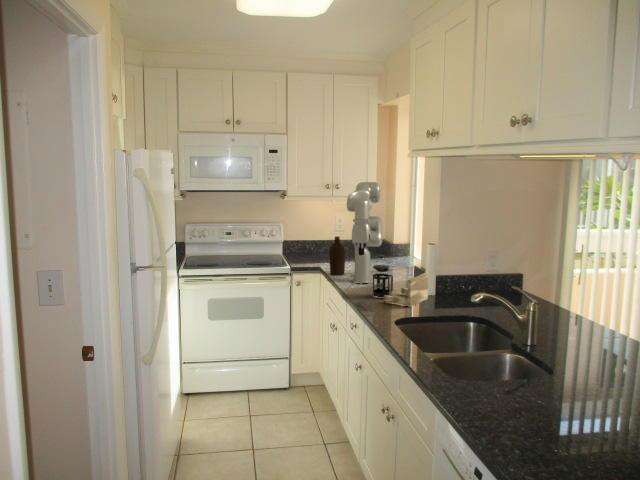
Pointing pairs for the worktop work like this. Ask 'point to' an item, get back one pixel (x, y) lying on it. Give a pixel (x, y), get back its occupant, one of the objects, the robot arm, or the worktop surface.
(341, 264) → the olive oil
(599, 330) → the worktop surface
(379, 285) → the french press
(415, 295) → the shelf bay
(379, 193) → the robot arm
